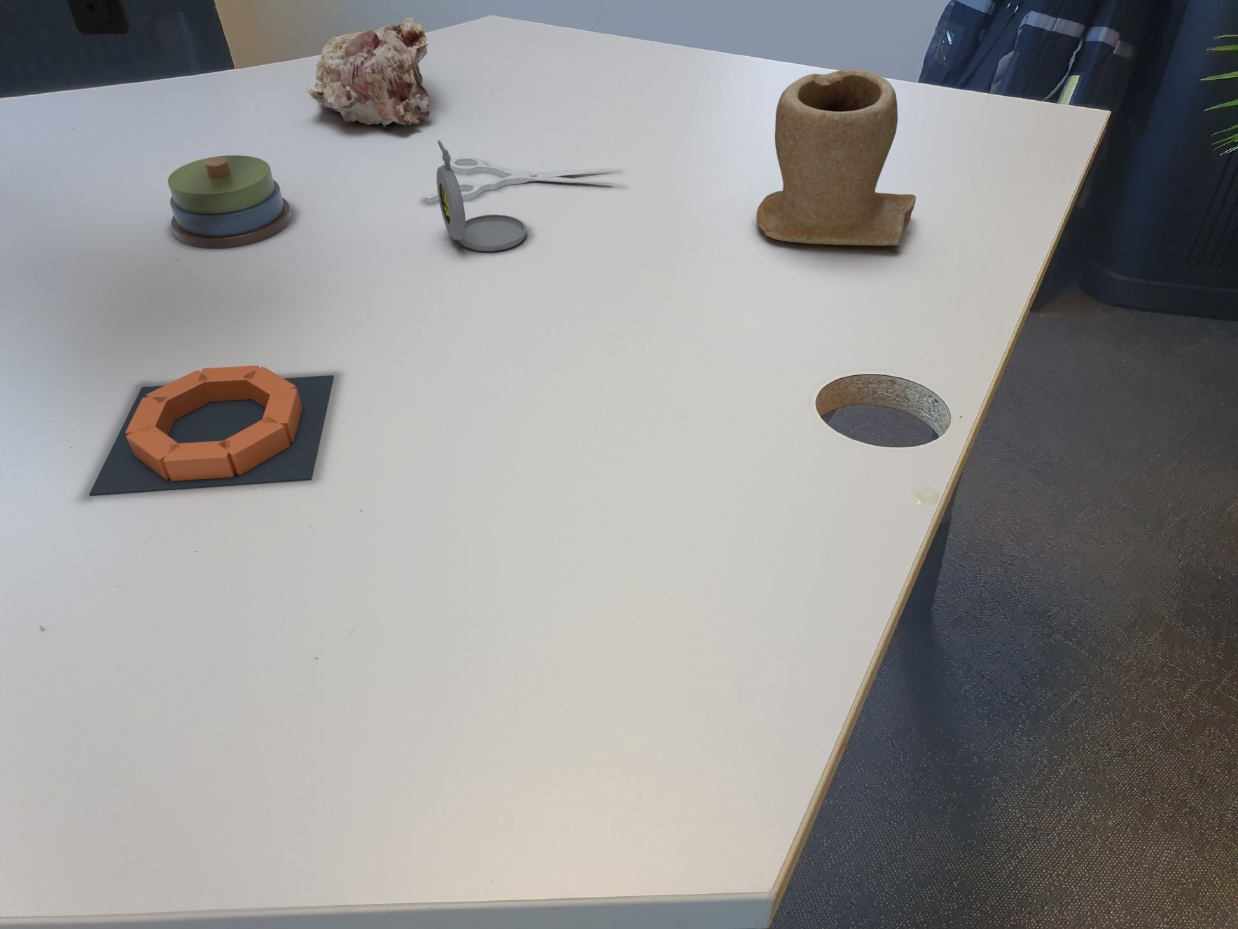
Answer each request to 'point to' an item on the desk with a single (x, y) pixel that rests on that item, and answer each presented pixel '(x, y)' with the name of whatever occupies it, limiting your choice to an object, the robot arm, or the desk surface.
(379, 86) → the mineral formation
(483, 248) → the pocket watch
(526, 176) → the scissors
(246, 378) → the ring
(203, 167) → the stack
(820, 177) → the stone cup
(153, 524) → the desk surface
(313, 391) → the mat
